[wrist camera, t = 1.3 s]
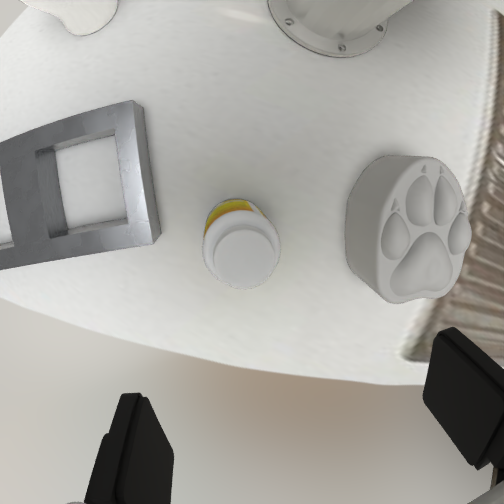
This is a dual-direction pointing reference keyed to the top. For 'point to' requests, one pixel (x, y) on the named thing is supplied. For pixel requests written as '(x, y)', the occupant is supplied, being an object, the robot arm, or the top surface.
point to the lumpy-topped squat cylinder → (407, 228)
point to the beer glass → (78, 13)
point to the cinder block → (49, 196)
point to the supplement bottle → (240, 244)
